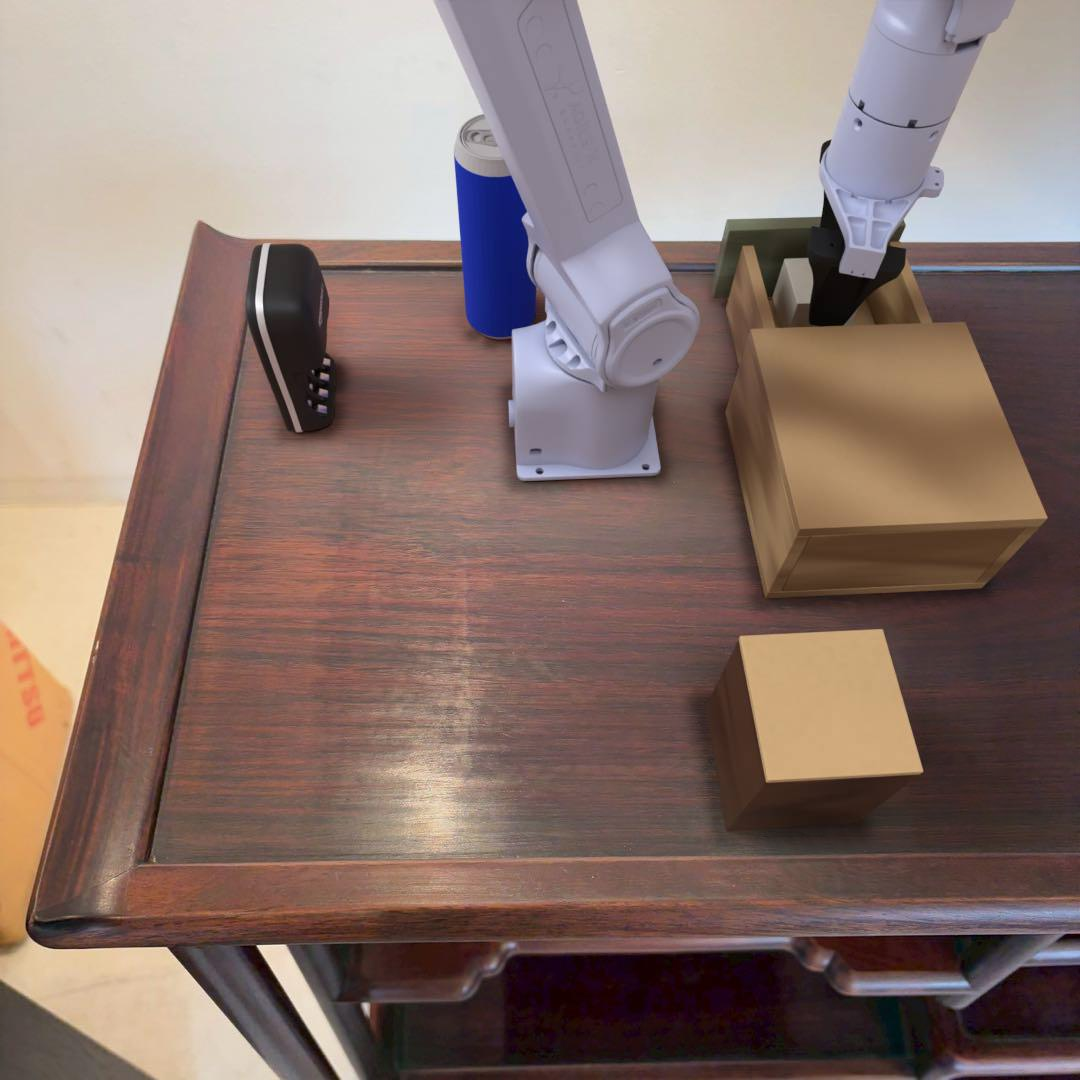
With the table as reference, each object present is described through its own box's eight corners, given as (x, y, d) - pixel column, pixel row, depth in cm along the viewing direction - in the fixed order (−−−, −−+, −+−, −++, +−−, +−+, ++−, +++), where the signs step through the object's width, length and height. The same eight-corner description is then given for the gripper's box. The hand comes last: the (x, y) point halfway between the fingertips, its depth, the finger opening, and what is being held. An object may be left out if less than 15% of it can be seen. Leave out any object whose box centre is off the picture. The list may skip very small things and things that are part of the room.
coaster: (765, 783, 39) (768, 780, 39) (738, 639, 43) (739, 635, 43) (920, 774, 40) (924, 771, 39) (880, 632, 43) (883, 628, 43)
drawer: (707, 276, 67) (723, 207, 62) (867, 271, 68) (897, 202, 63) (741, 429, 60) (763, 365, 54) (921, 422, 60) (960, 358, 55)
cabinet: (724, 412, 62) (750, 328, 55) (916, 405, 62) (965, 321, 55) (764, 598, 54) (800, 528, 47) (982, 588, 55) (1048, 518, 48)
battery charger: (343, 435, 60) (308, 310, 50) (287, 437, 60) (240, 313, 50) (348, 358, 64) (316, 227, 54) (294, 360, 64) (252, 230, 54)
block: (783, 341, 63) (797, 303, 60) (771, 297, 65) (784, 258, 62) (845, 339, 63) (861, 301, 60) (831, 295, 65) (846, 256, 62)
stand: (726, 831, 47) (765, 783, 39) (705, 705, 51) (738, 639, 43) (855, 823, 47) (920, 774, 40) (826, 699, 51) (880, 632, 43)
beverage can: (539, 296, 67) (542, 112, 54) (532, 346, 65) (534, 165, 52) (471, 290, 67) (459, 106, 55) (461, 340, 65) (446, 159, 52)
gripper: (978, 193, 44) (884, 377, 56) (976, 35, 51) (893, 226, 63) (835, 169, 45) (771, 355, 57) (853, 17, 52) (794, 210, 64)
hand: (828, 286), depth 60 cm, fingers open, 6 cm apart
